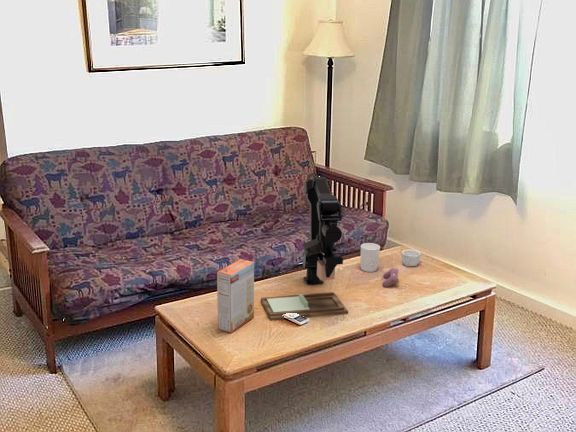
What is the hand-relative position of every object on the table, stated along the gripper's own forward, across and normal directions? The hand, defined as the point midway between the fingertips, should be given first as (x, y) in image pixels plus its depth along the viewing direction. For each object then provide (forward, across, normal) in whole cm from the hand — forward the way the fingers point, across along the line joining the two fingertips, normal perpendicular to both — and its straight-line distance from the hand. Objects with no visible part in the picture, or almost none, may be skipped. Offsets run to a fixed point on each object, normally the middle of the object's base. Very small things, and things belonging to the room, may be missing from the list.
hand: (325, 274), depth 244 cm
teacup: (+12, -30, +49) cm, 59 cm away
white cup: (+12, -29, +29) cm, 42 cm away
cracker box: (+12, +8, -34) cm, 37 cm away
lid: (+11, 0, -14) cm, 17 cm away
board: (+12, 0, -8) cm, 14 cm away
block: (+1, 0, 0) cm, 1 cm away
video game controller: (+12, -14, +32) cm, 37 cm away
